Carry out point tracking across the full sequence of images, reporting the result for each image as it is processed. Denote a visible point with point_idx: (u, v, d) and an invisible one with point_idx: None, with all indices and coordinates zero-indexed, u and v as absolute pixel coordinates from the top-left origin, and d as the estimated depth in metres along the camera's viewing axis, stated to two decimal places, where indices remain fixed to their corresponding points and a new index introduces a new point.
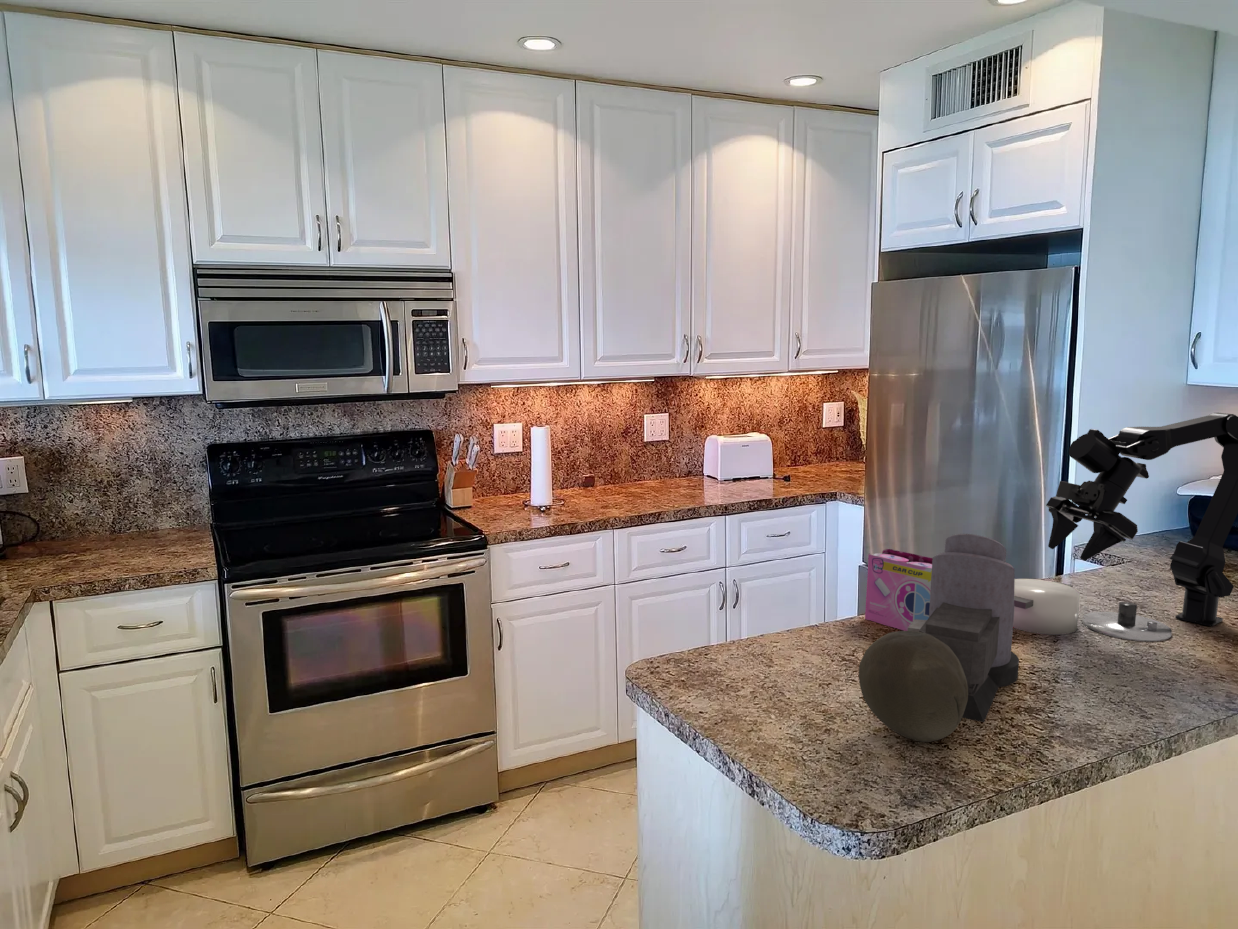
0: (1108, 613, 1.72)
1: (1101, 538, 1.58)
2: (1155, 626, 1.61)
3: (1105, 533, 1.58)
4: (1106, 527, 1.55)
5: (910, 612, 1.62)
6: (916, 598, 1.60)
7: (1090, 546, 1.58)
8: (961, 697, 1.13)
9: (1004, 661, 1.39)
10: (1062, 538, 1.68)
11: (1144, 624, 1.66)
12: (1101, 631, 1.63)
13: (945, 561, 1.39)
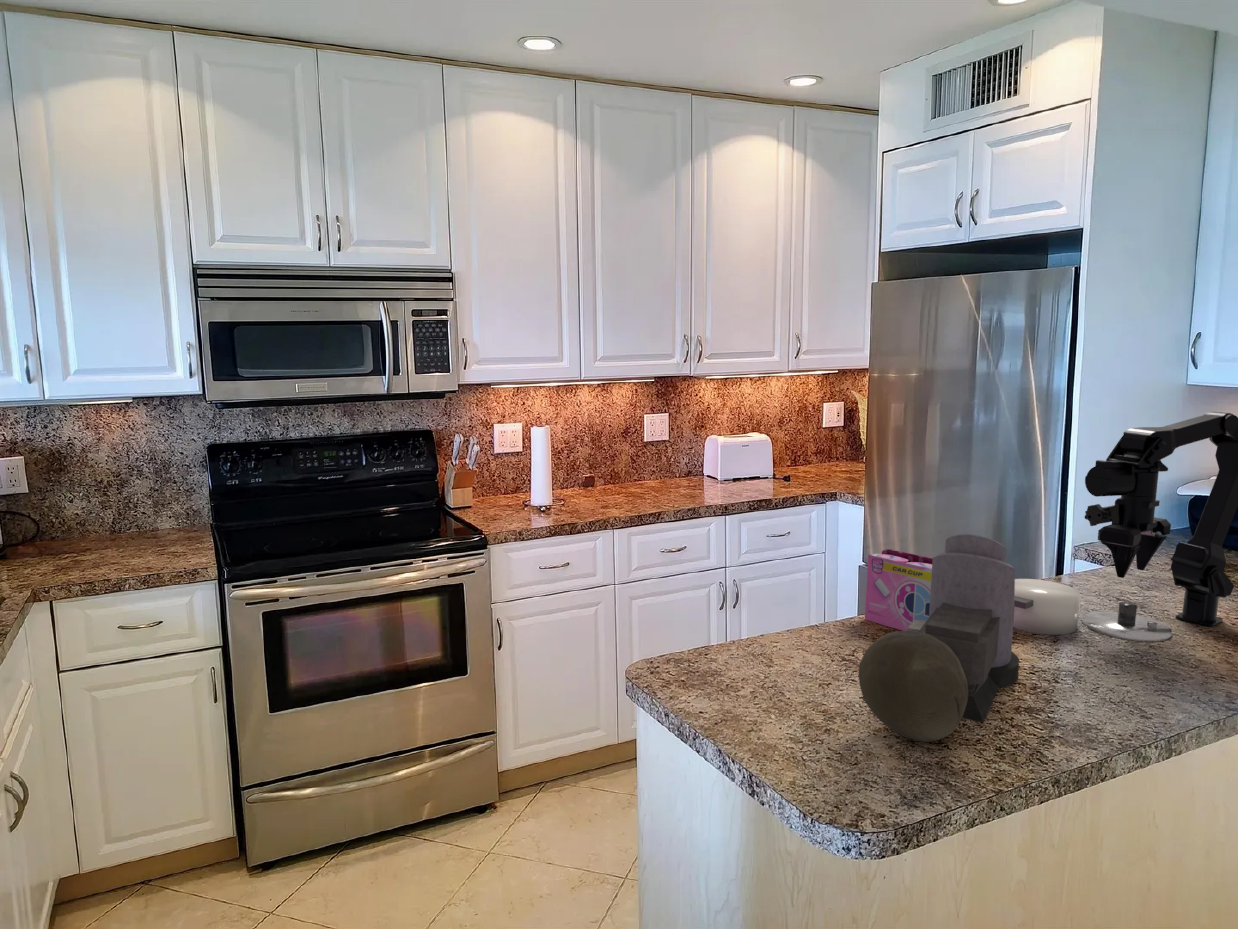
0: (1108, 613, 1.72)
1: (1120, 552, 1.60)
2: (1155, 626, 1.61)
3: None
4: (1103, 543, 1.60)
5: (910, 612, 1.61)
6: (916, 598, 1.60)
7: (1115, 563, 1.61)
8: (961, 697, 1.13)
9: (1004, 661, 1.39)
10: (1147, 556, 1.66)
11: (1144, 624, 1.66)
12: (1101, 631, 1.63)
13: (945, 561, 1.39)
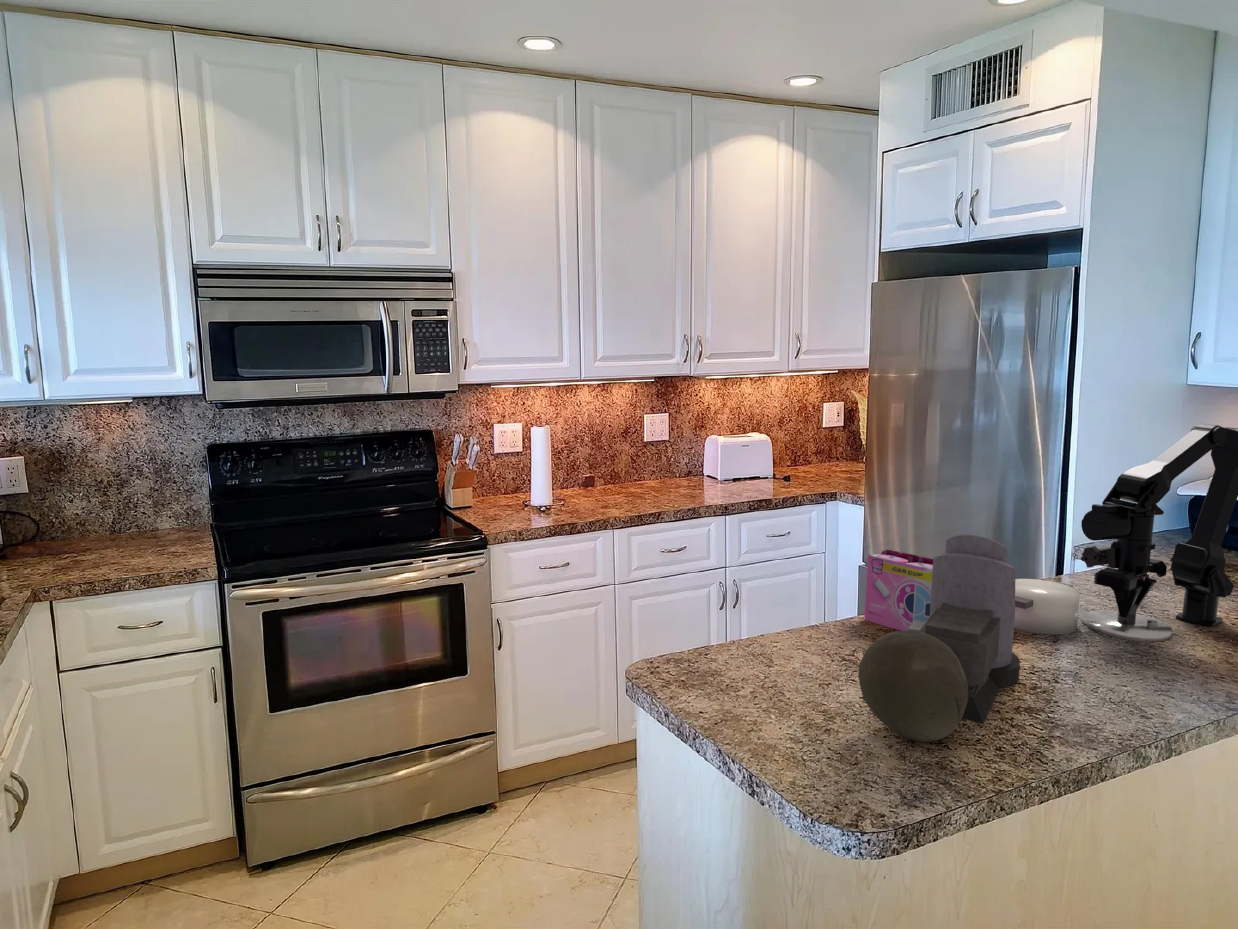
0: (1108, 611, 1.72)
1: (1123, 593, 1.63)
2: (1155, 624, 1.61)
3: None
4: None
5: (910, 613, 1.61)
6: (916, 599, 1.60)
7: (1118, 603, 1.64)
8: (961, 697, 1.13)
9: (1005, 662, 1.38)
10: (1137, 600, 1.65)
11: (1145, 622, 1.66)
12: (1101, 629, 1.63)
13: (946, 562, 1.39)
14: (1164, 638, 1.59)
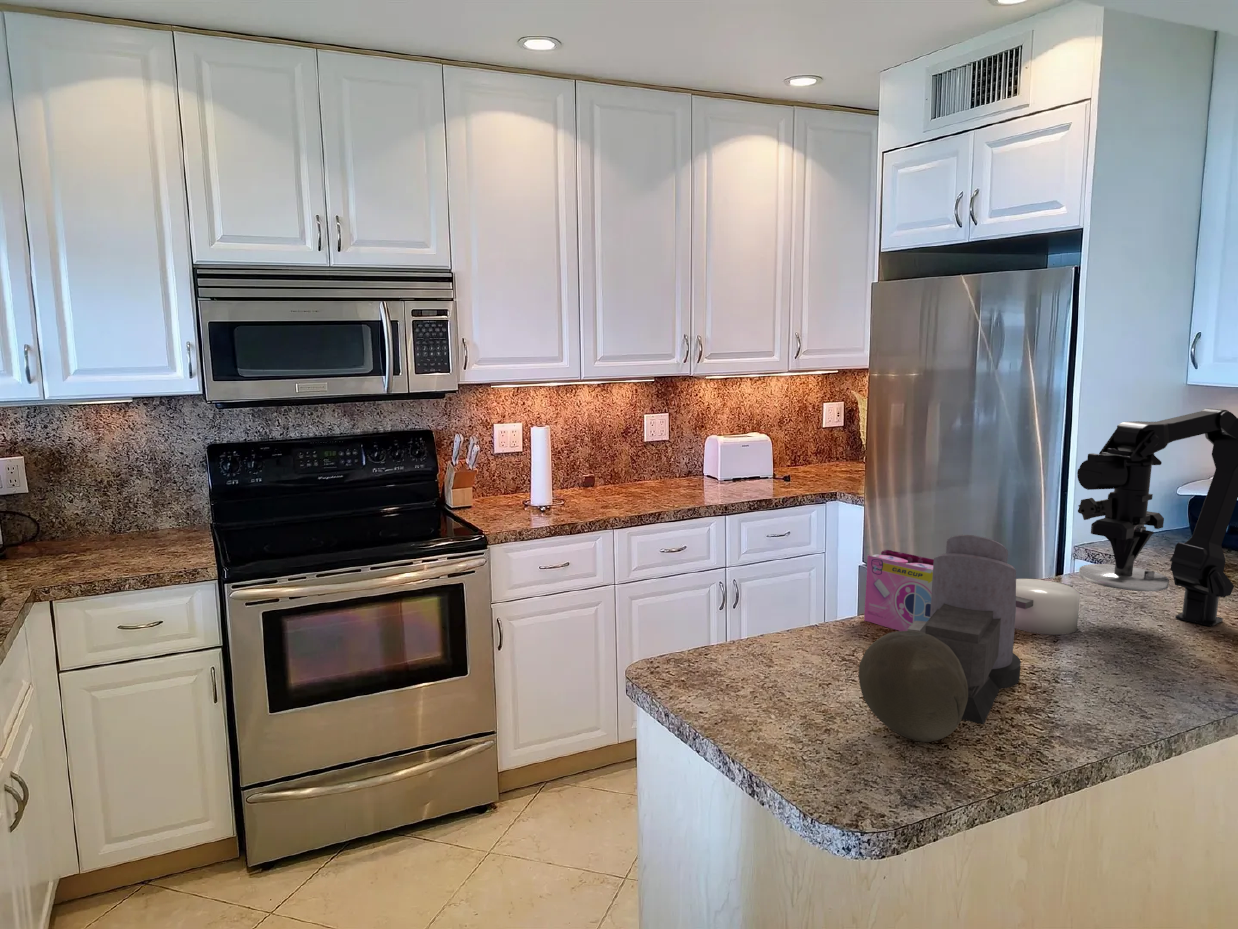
0: (1105, 565, 1.71)
1: (1120, 544, 1.62)
2: (1152, 575, 1.60)
3: None
4: None
5: (910, 613, 1.61)
6: (916, 599, 1.60)
7: (1115, 555, 1.63)
8: (961, 697, 1.13)
9: (1005, 663, 1.38)
10: (1134, 552, 1.64)
11: (1142, 574, 1.64)
12: (1098, 580, 1.61)
13: (946, 562, 1.38)
14: (1161, 588, 1.58)
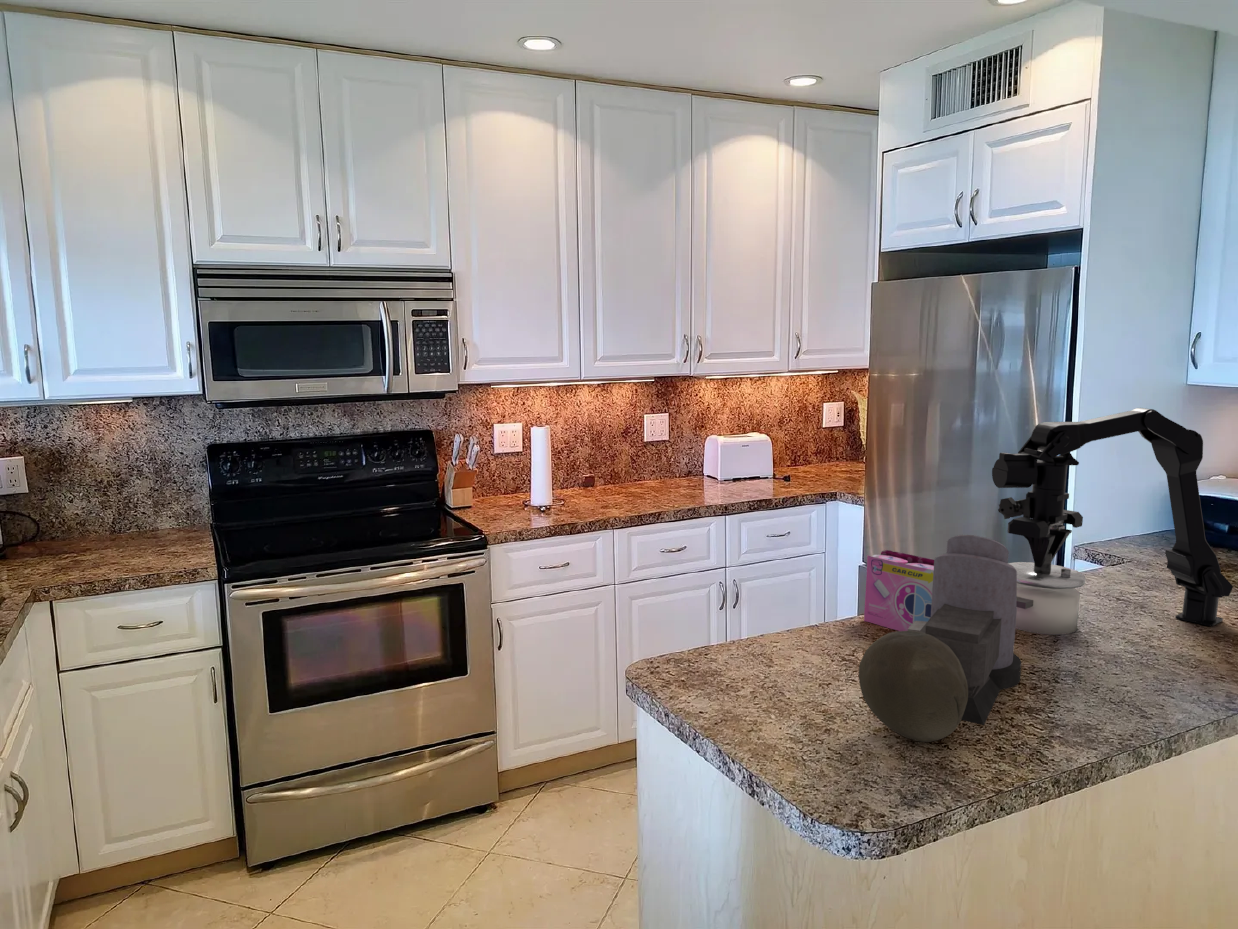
0: (1027, 563, 1.74)
1: (1037, 542, 1.64)
2: (1068, 573, 1.63)
3: None
4: None
5: (910, 614, 1.61)
6: (916, 599, 1.59)
7: (1033, 553, 1.66)
8: (961, 697, 1.13)
9: (1006, 663, 1.38)
10: (1053, 551, 1.67)
11: (1060, 572, 1.67)
12: None
13: (947, 562, 1.38)
14: (1076, 586, 1.61)
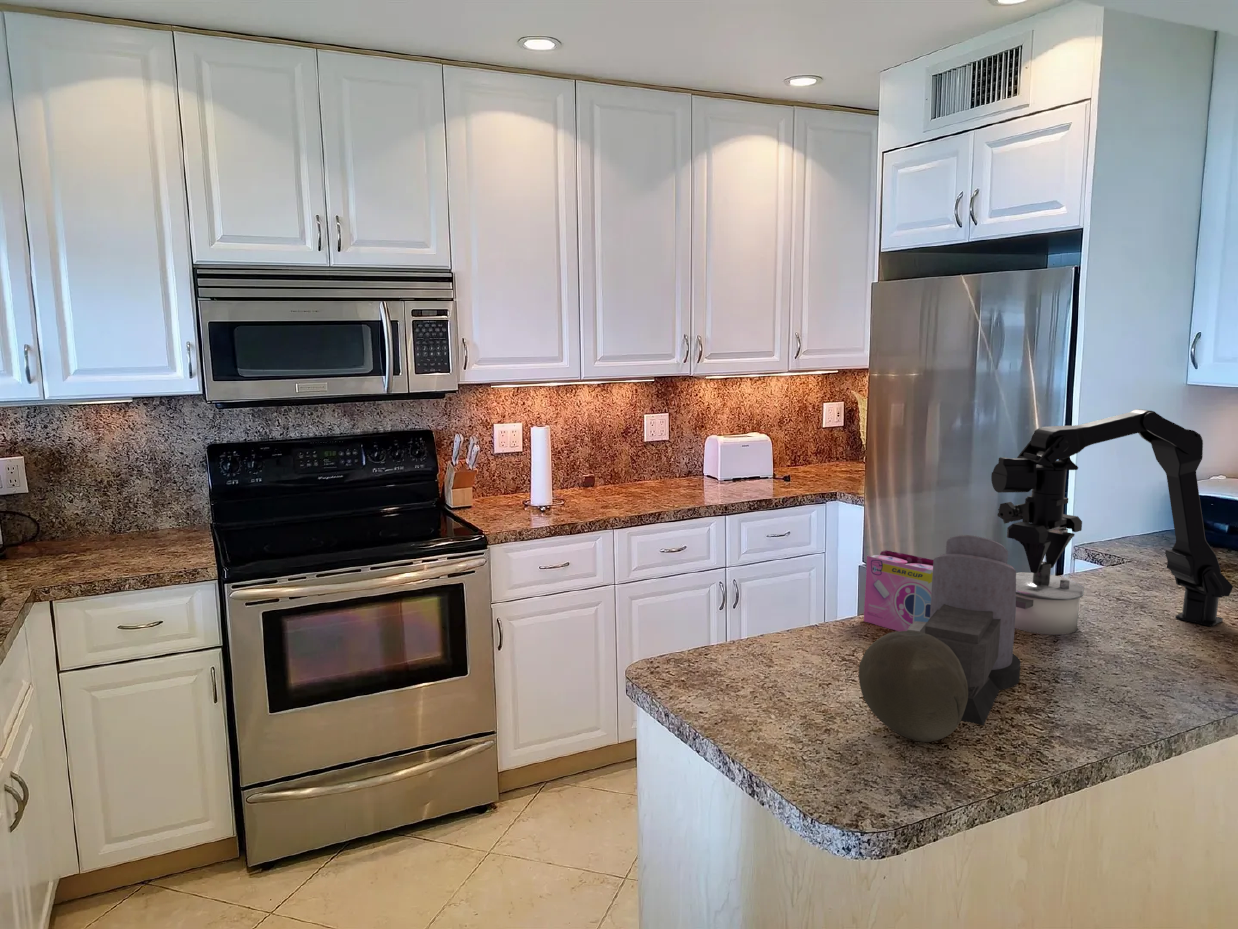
0: (1027, 573, 1.74)
1: (1032, 548, 1.64)
2: (1067, 584, 1.63)
3: None
4: (1016, 539, 1.64)
5: (910, 614, 1.60)
6: (916, 600, 1.59)
7: (1028, 559, 1.65)
8: (961, 697, 1.13)
9: (1005, 664, 1.38)
10: (1056, 554, 1.68)
11: (1059, 583, 1.67)
12: None
13: (946, 563, 1.38)
14: (1075, 597, 1.61)
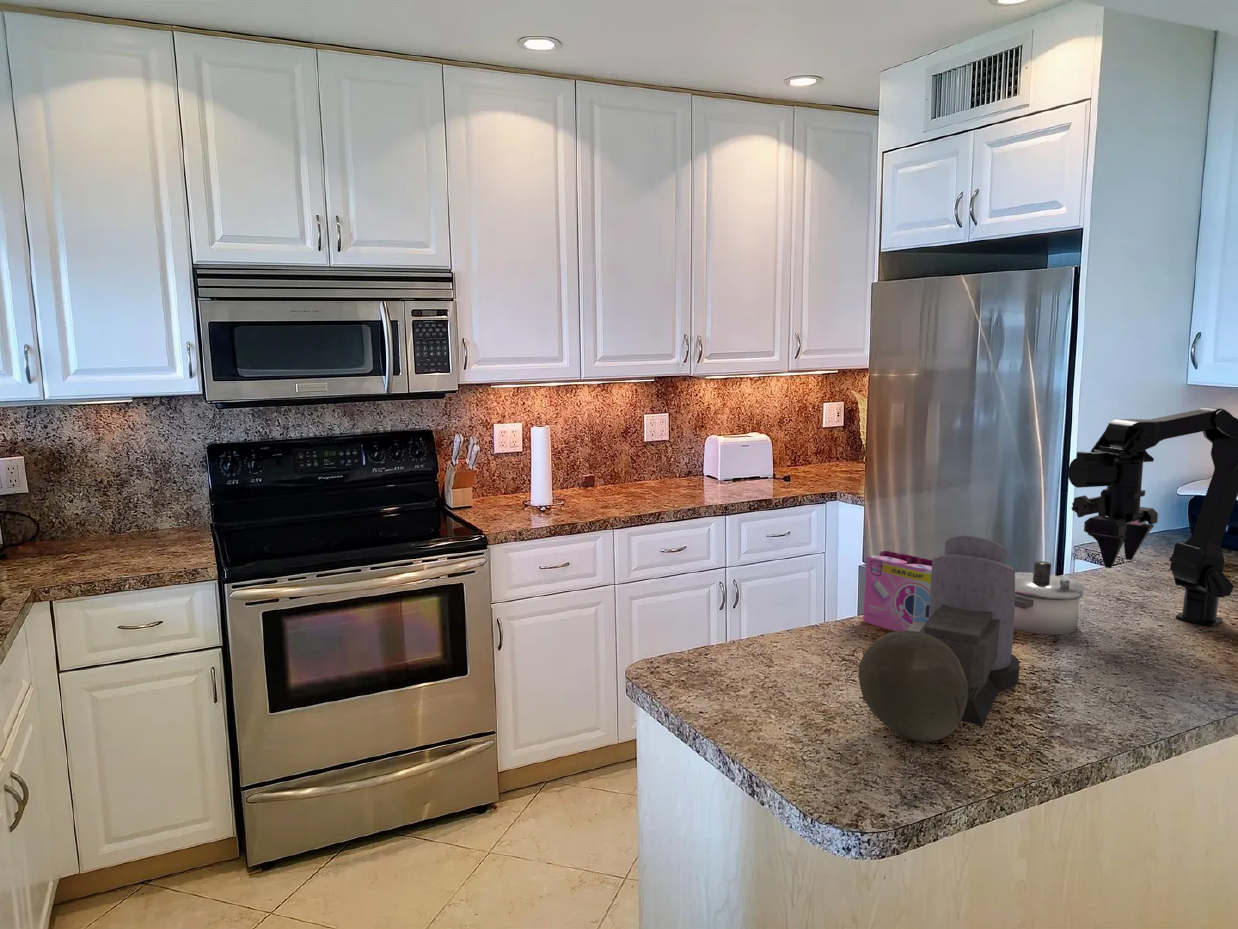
0: (1027, 573, 1.74)
1: (1107, 543, 1.62)
2: (1067, 584, 1.63)
3: None
4: (1089, 534, 1.62)
5: (910, 615, 1.60)
6: (916, 600, 1.59)
7: (1102, 554, 1.63)
8: (961, 697, 1.13)
9: (1004, 664, 1.38)
10: (1135, 546, 1.67)
11: (1059, 583, 1.67)
12: None
13: (945, 563, 1.38)
14: (1075, 597, 1.61)
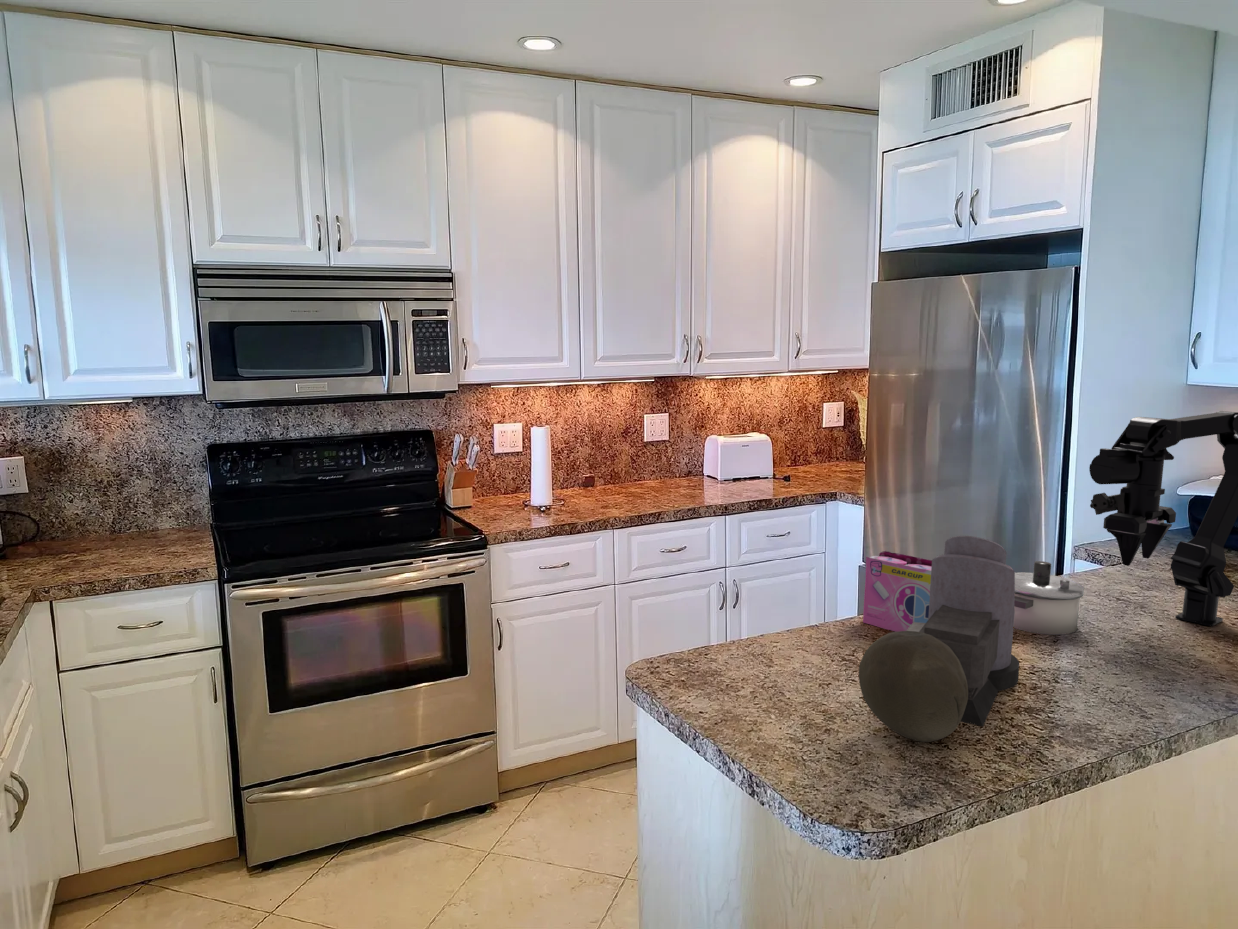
0: (1027, 573, 1.74)
1: (1126, 540, 1.61)
2: (1067, 584, 1.63)
3: None
4: (1109, 531, 1.61)
5: (910, 615, 1.60)
6: (916, 601, 1.59)
7: (1121, 551, 1.62)
8: (961, 697, 1.13)
9: (1004, 664, 1.37)
10: (1153, 544, 1.67)
11: (1059, 583, 1.67)
12: None
13: (945, 563, 1.38)
14: (1075, 597, 1.61)
